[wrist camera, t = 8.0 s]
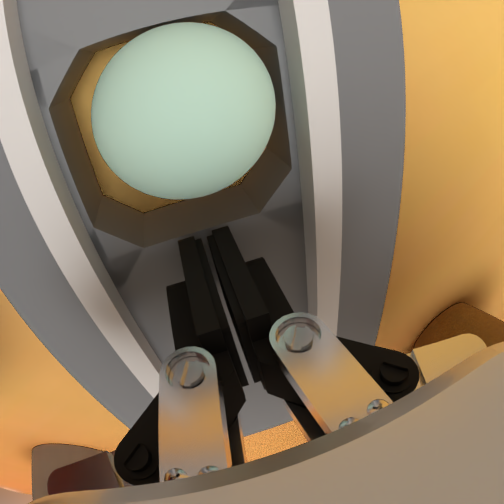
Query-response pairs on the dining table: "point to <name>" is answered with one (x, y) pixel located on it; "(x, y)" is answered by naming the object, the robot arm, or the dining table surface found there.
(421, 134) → the dining table surface
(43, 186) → the board
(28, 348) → the dining table surface
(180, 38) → the ball
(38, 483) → the coffee mug
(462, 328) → the plant pot
